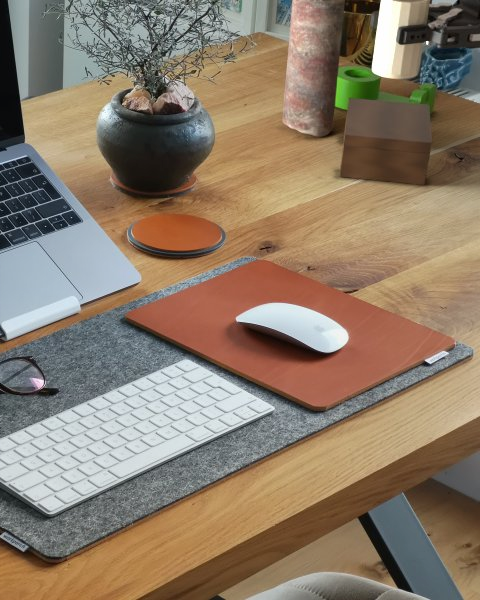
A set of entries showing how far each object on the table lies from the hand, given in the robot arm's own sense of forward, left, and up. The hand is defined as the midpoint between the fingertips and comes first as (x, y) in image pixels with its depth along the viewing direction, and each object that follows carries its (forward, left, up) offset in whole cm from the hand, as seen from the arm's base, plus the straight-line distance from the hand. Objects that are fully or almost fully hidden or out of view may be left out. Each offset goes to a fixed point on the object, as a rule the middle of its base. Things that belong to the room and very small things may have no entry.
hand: (385, 28), depth 143 cm
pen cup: (-2, -1, -6) cm, 6 cm away
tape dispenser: (-1, -22, -19) cm, 29 cm away
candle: (+9, -11, -19) cm, 23 cm away
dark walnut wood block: (-2, -2, -19) cm, 19 cm away
